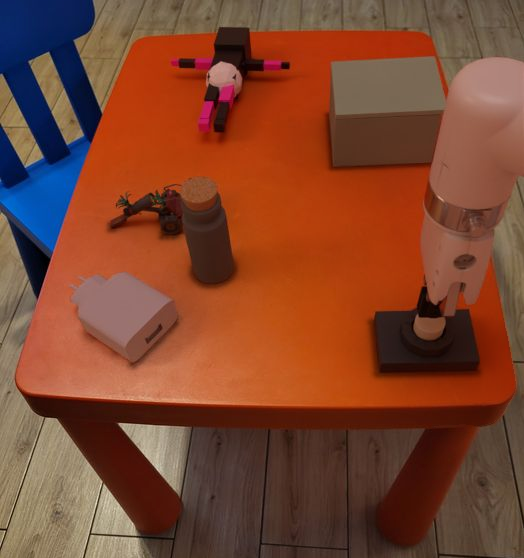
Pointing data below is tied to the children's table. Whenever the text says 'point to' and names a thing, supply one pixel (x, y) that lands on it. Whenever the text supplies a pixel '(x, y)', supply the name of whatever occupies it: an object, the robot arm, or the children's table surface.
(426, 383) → the children's table surface
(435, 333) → the button
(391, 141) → the chest
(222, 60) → the blocky doll
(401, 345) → the control block
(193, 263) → the bottle
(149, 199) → the toy vehicle
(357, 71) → the lid
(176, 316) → the charger
